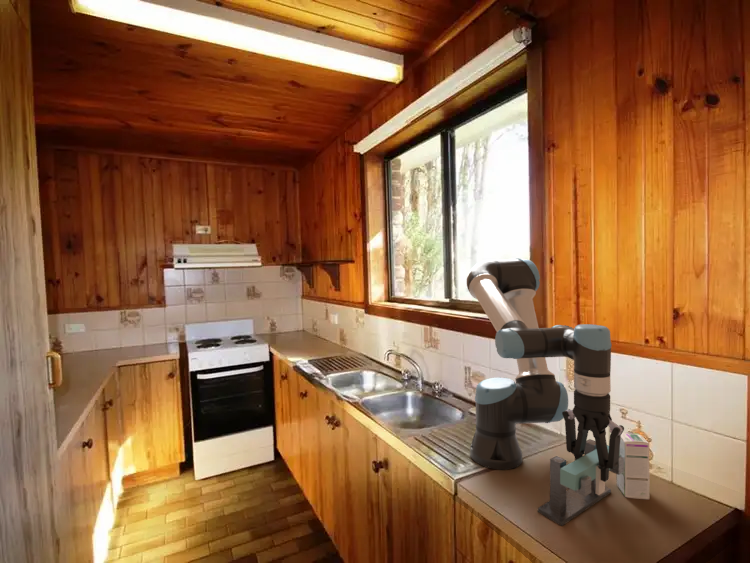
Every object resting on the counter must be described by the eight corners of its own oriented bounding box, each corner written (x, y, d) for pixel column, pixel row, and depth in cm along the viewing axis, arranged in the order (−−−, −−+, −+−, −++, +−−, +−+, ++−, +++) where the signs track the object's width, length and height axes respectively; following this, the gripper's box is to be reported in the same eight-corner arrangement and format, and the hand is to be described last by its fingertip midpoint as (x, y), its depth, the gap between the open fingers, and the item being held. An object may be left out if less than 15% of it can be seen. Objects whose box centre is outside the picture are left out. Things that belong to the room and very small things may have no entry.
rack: (537, 512, 93) (537, 458, 92) (587, 481, 105) (587, 434, 104) (579, 536, 84) (579, 477, 84) (627, 500, 97) (628, 448, 96)
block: (560, 483, 89) (560, 468, 89) (605, 457, 100) (605, 444, 100) (575, 490, 86) (575, 475, 86) (619, 463, 97) (619, 449, 97)
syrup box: (650, 500, 96) (651, 442, 96) (624, 497, 98) (624, 440, 97) (639, 487, 102) (640, 432, 101) (614, 484, 103) (615, 431, 102)
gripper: (549, 385, 97) (549, 477, 98) (622, 405, 83) (620, 512, 84) (566, 379, 101) (566, 468, 102) (638, 397, 87) (637, 499, 88)
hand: (591, 488), depth 93 cm, fingers closed on block, 3 cm apart
